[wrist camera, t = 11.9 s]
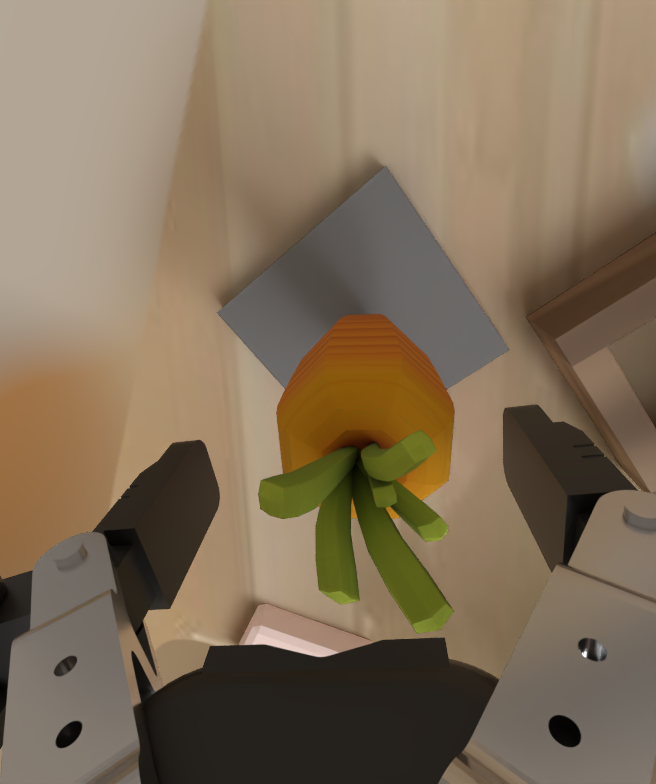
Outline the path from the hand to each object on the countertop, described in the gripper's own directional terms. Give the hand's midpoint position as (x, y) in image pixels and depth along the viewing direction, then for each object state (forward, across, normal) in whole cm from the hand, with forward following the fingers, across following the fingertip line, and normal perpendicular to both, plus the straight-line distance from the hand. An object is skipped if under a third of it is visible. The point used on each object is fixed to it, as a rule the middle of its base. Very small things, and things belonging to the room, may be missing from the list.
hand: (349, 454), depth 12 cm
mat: (+11, 0, 0) cm, 11 cm away
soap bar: (+12, +7, +23) cm, 27 cm away
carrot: (+10, 0, 0) cm, 11 cm away
